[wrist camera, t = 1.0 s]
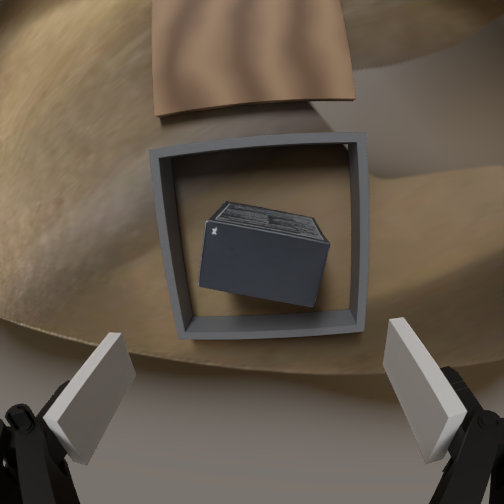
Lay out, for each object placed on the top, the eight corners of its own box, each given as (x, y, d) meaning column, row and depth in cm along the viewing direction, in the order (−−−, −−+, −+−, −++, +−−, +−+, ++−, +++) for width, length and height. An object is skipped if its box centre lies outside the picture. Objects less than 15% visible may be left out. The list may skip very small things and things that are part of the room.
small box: (215, 254, 37) (194, 289, 27) (224, 200, 35) (203, 216, 25) (304, 270, 37) (313, 311, 26) (316, 217, 35) (332, 240, 25)
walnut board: (330, -24, 25) (332, -30, 24) (352, 101, 30) (355, 98, 29) (156, -6, 27) (152, -11, 26) (159, 117, 32) (154, 116, 31)
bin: (355, 135, 32) (365, 132, 28) (356, 315, 38) (363, 331, 34) (162, 150, 34) (148, 149, 30) (186, 323, 40) (178, 339, 36)
